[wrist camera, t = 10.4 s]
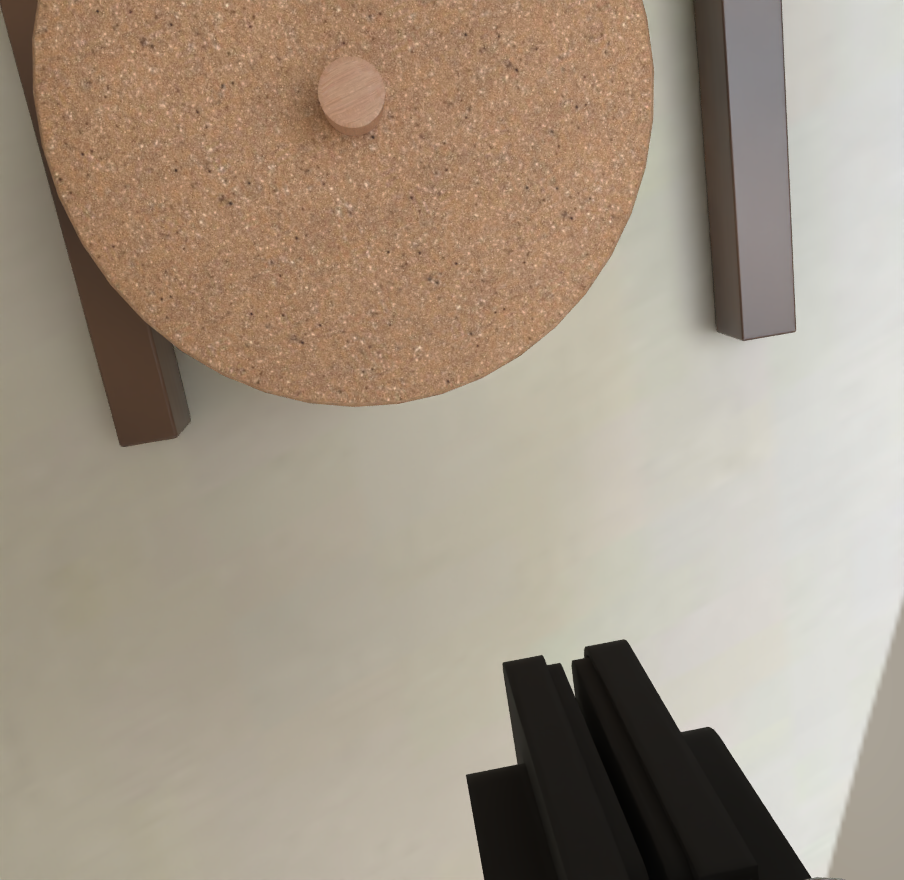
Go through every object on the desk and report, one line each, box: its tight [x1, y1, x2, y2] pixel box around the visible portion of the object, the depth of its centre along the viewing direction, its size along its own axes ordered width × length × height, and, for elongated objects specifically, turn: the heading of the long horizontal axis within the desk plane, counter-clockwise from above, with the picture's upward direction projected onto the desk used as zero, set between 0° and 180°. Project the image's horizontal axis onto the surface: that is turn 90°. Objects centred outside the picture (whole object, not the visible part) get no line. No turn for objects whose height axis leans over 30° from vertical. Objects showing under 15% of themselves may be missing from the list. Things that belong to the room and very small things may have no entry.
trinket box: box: [32, 0, 654, 407], centre depth 18 cm, size 11×11×9 cm
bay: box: [0, 0, 796, 447], centre depth 21 cm, size 15×18×2 cm
